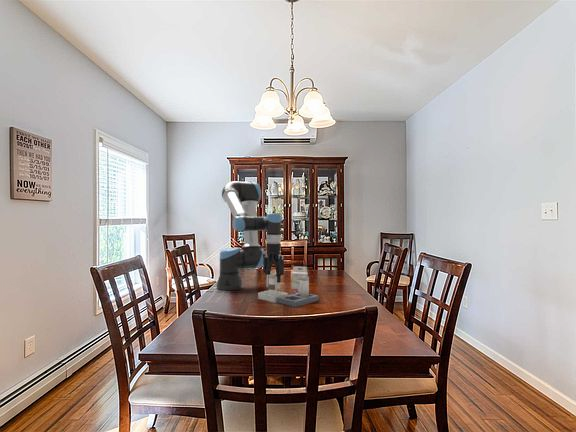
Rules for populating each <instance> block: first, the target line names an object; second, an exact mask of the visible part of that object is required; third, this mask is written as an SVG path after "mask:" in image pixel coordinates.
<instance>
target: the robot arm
mask: <svg viewBox="0 0 576 432" xmlns="http://www.w3.org/2000/svg"><path fill="white" fill-rule="evenodd" d="M221 197H222V200H223V201H224V203H226V204H227V206H228V208H229V210H230V213H231V214H232V217H233V218H232V223H231V224H232V229H233V230H234V231H240V232H243V245H242V246H241V248H240V247H229V248H225V249H221V251H220V252H219V259H218V260H219V276H218V279H217V283H216V289H217V290H220V291H236V290H241V289H242V288H243V281H242V278H241V276H240V270H256V269H260V268H262V273H264V274H265V280H266V288H269V274H272V273H271V271H272V267H273V264H274V269H275V270H274V271H275V274H276V276H275V289H278V290H279V289H281V282H282V281H281V279H282V276H283V275H285V255H282V254H281V250H282V249H281V248H282V244H281V242H282V215H281V213H278V212H268V213H266V216H258V215H257V205H258V204H259V201H261V199H262V189H261V186H260V184H259V183H258V182H254V181H236V180H234V181H230V182H228V183H227V184H225V185H224V186H223V188H222V191H221ZM259 231H260V232H262V231H264V232H266V234H265V235H266V244H265V247H266V248H265V250H266V253H265V250H264V249H263V248H262V245H260V244H259V235H258V234H259V233H258V232H259Z"/></svg>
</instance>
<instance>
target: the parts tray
mask: <svg viewBox="0 0 576 432" xmlns="http://www.w3.org/2000/svg"><path fill="white" fill-rule="evenodd" d="M285 295H286V296H287V295H289V293H288V292H284V291H279V290H278V295H277V296H272V295H269V290H264V291H260V292H257V299H258V300H262V301H265V300H266V302H269V303H277V298H278V297H282V296H285Z"/></svg>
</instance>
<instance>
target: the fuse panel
mask: <svg viewBox="0 0 576 432" xmlns="http://www.w3.org/2000/svg"><path fill="white" fill-rule="evenodd" d="M319 300H320V297H319V295H317V294H312V293H309V297H301V296H300V292H299V293H295V294H292V293H291V294H288V295H287V296H286V295H285V296H282V297H278V298H277V302H276V303H277V304H281V303H282V305H285V304H286V305H285V306H289V307H294V308H297V307H301V306H304V305H307V304H312V303H315V302H319Z"/></svg>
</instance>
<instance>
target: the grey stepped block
mask: <svg viewBox="0 0 576 432" xmlns="http://www.w3.org/2000/svg"><path fill="white" fill-rule="evenodd" d="M308 275H309V273H308V266H294V265H293V268H292V273H291V294H295V293H299V292H300V276H308Z"/></svg>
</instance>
